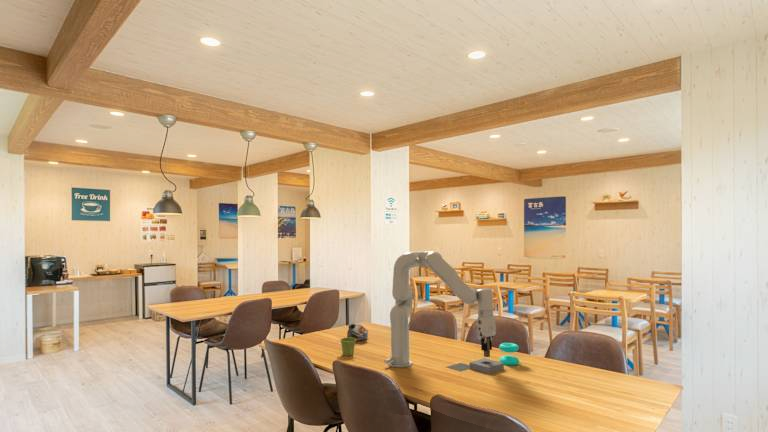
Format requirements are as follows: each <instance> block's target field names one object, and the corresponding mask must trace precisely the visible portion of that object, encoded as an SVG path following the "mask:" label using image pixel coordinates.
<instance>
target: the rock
mask: <svg viewBox="0 0 768 432" xmlns="http://www.w3.org/2000/svg"><path fill="white" fill-rule="evenodd" d="M368 333H369V330H368V329H367V328H366V327H365V326H364V325H363V324H361V323H357V322H356V323H351V322H350V323H348V330H347V335H346V338H355V339H356V341H360V340H368V339H369V335H368Z"/></svg>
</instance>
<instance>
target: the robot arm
mask: <svg viewBox="0 0 768 432" xmlns="http://www.w3.org/2000/svg"><path fill="white" fill-rule="evenodd" d="M414 268H429V269H430V270H431V271H432V272H433V273H434V274H435V275H436V276H437V277H438V278H439V279H440V280H441V281H442V283H443V282H444V284H445V285H446V287H448V289H450V291H451V292H452V294H453V293H454V295H455V296H456V297H457V298H459V300H460V301H462V302H463V303H464V304H466V305H472V304H475V302H476V303H477V320H476V321H477V322H476V334H477V336H476V338H477V339H478V340H479V341H480V342H479V343H480V344H481V346H480V347H481V351H483V352H484V351H487V343H486V337H489V340H490V351H492V350H493V344H492V342H493V339H494V336H495V335H496V334H497V326H496V319H495V315H494V302H493V301H494V297H493V295H494V294H493V290H492V289H491V288H485V287H484V288H483V287H481V288H476V287H469V285H467V284H466V283H465V281H463V280H462V279H461V277H460V276H459V274H458V272H457V270H456V269H455V268H453V267H452V266H451V265H450V264H449V263H448V262H447V261H446V260H445V259H444V258H443V256H442V254H441V253H439V251H408V252H406V253H403V254H402V255H400V256H399V257H398V258H397V259H396V260H395V262H394V265H393V276H392V277H393V278H392V291H391V293H392V297H393V299H394V301H395V303H394V305H393V307H391V309H390V312H389V313H390V314H389V322H390V340H391V341H390V344H391V345H390V347H391V350H390V351H391V353H390V354H391V355H390V356H389V358H387V359H384V364H388V366H390V367H392V368H398V369H399V368H402V369H403V368H408V367H411V366H412V365H413V361H412V360H410V326H409V325H410V324H409V318H410V317H411V315H412V312H413V288H412V286H411V284H410V270H411V269H414ZM483 338H484V339H483Z"/></svg>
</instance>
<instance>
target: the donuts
mask: <svg viewBox="0 0 768 432" xmlns="http://www.w3.org/2000/svg"><path fill="white" fill-rule="evenodd" d="M498 349H500V351H501V352H504V353H509V354H511V353H516V352H518V351H519V349H520V347H519V345H518V344H516V343H514V342H502V343H501V344H499V346H498ZM499 362H501V363H504V366H509V367H512V366H513V367H515V366H517V365H519V364H520V359H519V358H518V357H517V356H514V355H507V354H506V355H502V356H501V357H500V358H499Z"/></svg>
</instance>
